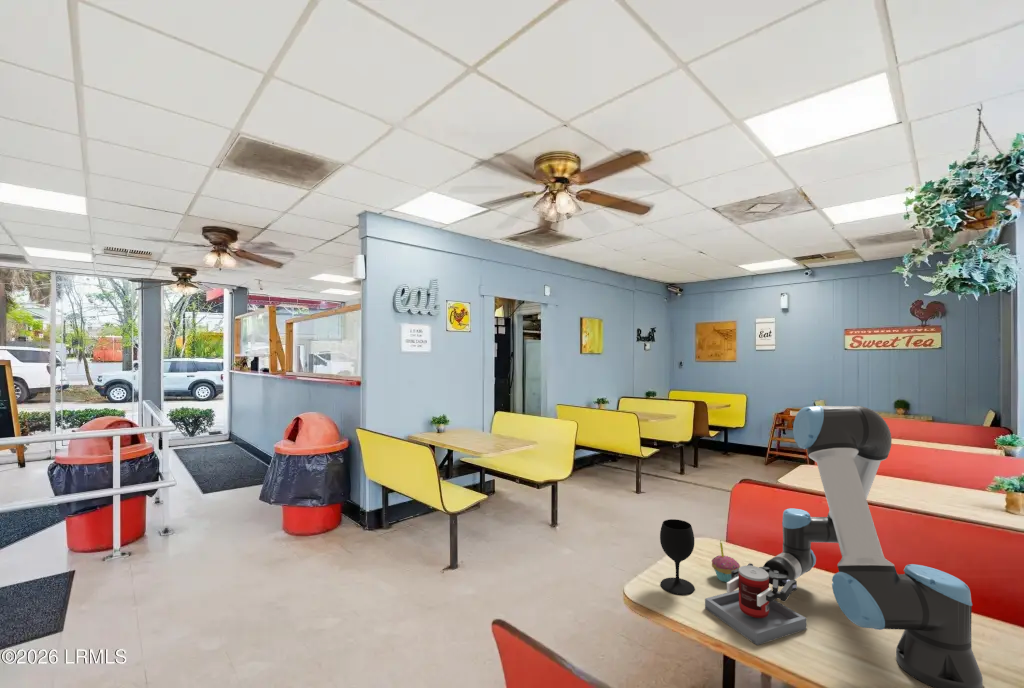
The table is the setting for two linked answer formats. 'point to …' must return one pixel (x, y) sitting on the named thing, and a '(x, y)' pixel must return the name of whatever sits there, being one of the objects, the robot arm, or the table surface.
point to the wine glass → (677, 553)
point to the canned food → (752, 590)
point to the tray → (756, 629)
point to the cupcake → (724, 566)
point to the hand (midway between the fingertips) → (742, 594)
